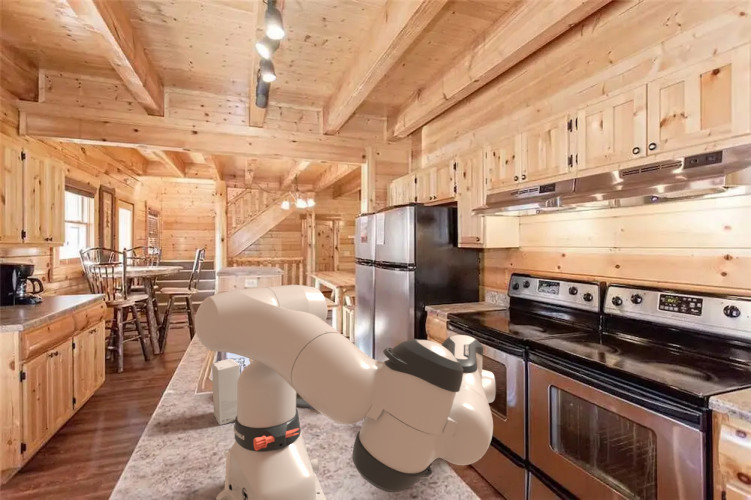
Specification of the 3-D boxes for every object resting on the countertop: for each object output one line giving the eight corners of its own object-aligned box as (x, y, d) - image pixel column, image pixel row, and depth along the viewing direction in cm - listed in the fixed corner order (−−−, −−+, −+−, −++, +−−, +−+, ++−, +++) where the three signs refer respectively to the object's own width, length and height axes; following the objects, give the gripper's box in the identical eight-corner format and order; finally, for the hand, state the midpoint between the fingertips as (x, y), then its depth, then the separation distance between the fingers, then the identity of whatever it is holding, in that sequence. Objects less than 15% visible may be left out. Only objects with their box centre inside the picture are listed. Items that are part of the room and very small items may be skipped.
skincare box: (241, 420, 101) (241, 365, 101) (217, 426, 98) (217, 369, 97) (234, 408, 108) (234, 357, 108) (211, 414, 105) (211, 360, 104)
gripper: (426, 408, 92) (372, 401, 96) (437, 379, 112) (391, 374, 115) (426, 382, 92) (372, 376, 96) (437, 358, 111) (391, 354, 115)
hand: (383, 375), depth 106 cm, fingers open, 8 cm apart
